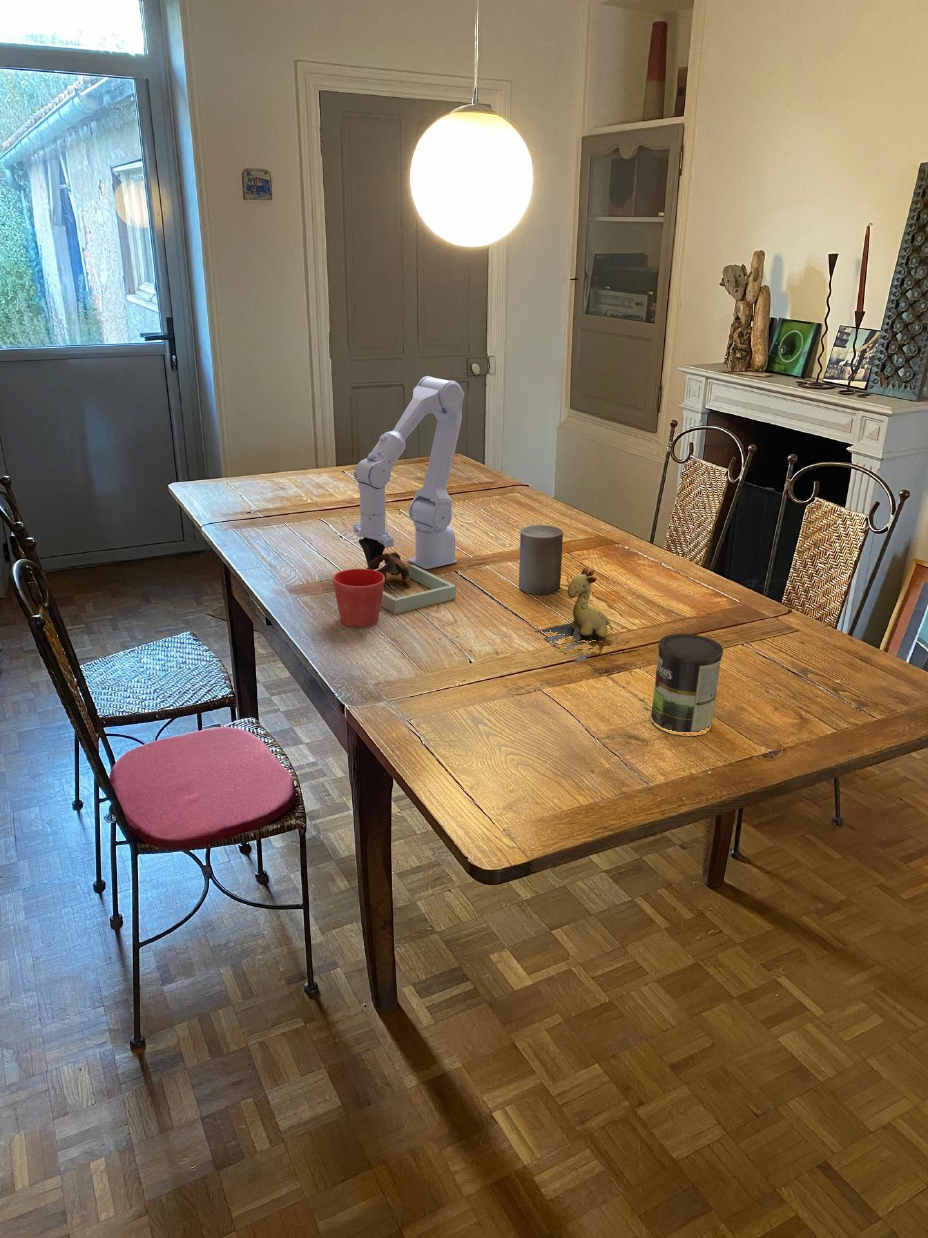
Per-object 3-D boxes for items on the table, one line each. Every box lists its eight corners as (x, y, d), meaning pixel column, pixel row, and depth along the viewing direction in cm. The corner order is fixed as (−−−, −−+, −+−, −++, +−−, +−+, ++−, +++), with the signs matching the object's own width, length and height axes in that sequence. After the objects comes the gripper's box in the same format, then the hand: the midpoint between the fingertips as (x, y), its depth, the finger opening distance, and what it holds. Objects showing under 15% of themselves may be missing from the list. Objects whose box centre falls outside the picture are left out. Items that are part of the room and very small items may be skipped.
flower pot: (393, 614, 199) (393, 571, 195) (372, 634, 190) (371, 589, 186) (348, 607, 202) (347, 565, 199) (325, 626, 193) (323, 581, 189)
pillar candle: (566, 584, 218) (569, 522, 213) (551, 598, 210) (554, 533, 204) (527, 578, 222) (529, 517, 216) (511, 591, 214) (513, 527, 208)
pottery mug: (411, 594, 212) (393, 566, 207) (375, 608, 215) (357, 580, 211) (418, 564, 221) (401, 537, 217) (383, 577, 224) (366, 551, 220)
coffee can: (659, 738, 153) (668, 659, 148) (643, 708, 163) (651, 633, 157) (721, 736, 154) (732, 658, 149) (701, 707, 163) (711, 632, 158)
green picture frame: (413, 576, 221) (413, 564, 220) (455, 598, 209) (455, 585, 207) (354, 590, 212) (353, 577, 211) (394, 613, 200) (394, 600, 199)
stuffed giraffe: (534, 632, 193) (541, 558, 186) (607, 621, 200) (617, 551, 194) (575, 665, 180) (585, 588, 173) (652, 653, 187) (664, 578, 181)
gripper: (341, 507, 217) (343, 563, 222) (374, 522, 206) (375, 580, 211) (367, 502, 221) (368, 557, 226) (401, 517, 210) (401, 575, 215)
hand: (373, 568), depth 219 cm, fingers closed
